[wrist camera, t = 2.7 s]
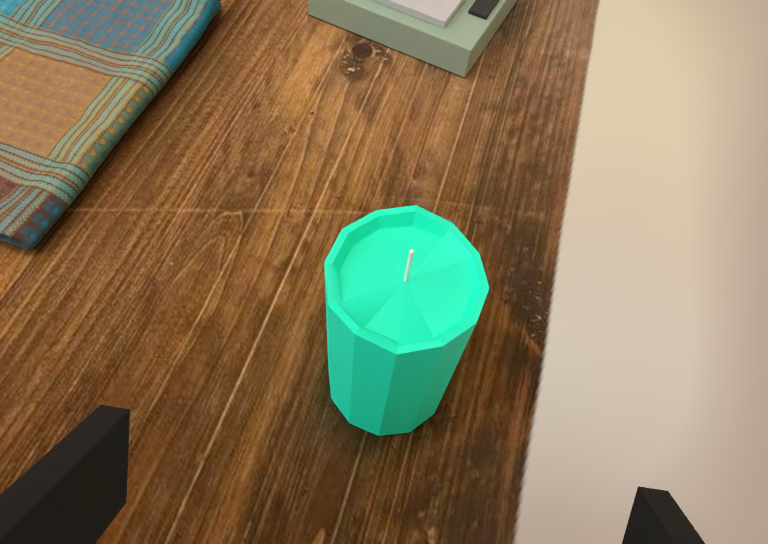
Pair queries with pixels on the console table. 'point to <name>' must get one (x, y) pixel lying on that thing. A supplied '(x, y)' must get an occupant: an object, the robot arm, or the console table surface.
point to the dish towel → (78, 93)
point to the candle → (398, 315)
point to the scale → (421, 26)
